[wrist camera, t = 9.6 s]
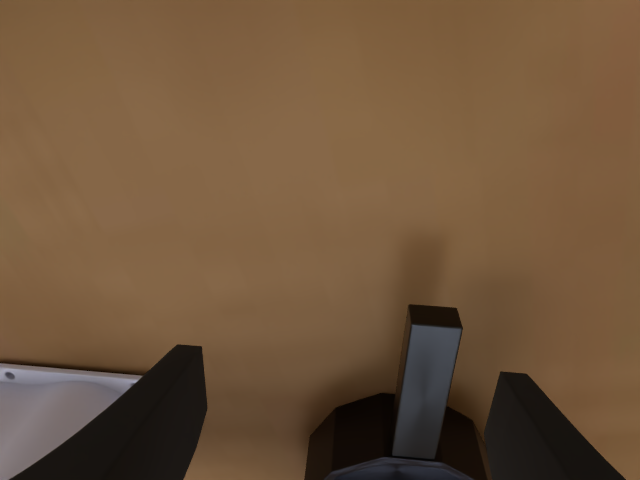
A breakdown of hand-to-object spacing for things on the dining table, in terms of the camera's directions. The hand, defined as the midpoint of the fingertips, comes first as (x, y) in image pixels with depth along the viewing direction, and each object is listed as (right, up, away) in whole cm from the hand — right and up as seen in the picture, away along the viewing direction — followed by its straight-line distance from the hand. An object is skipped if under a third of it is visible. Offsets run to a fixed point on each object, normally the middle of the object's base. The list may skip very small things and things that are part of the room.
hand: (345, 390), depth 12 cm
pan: (+4, -6, +14) cm, 16 cm away
